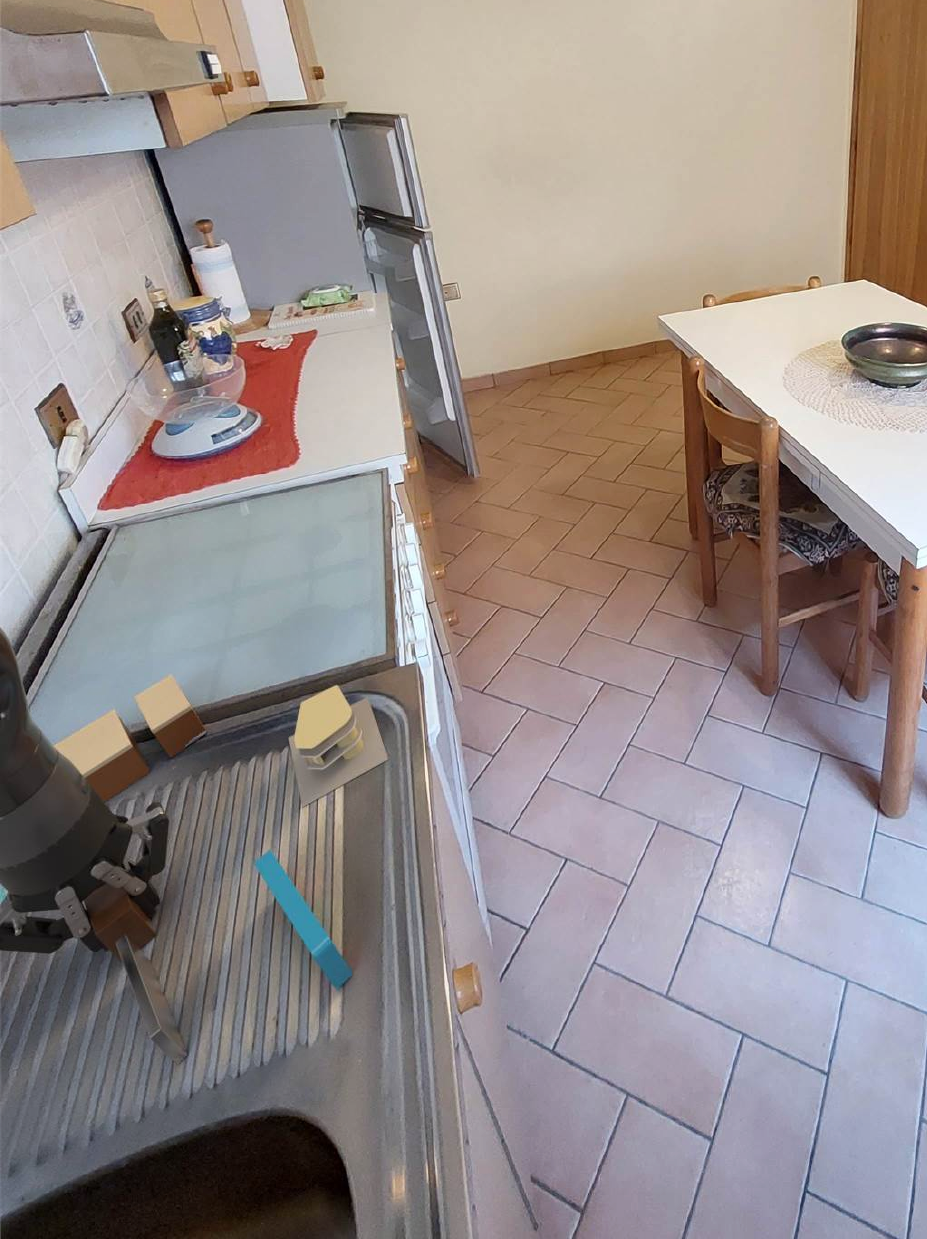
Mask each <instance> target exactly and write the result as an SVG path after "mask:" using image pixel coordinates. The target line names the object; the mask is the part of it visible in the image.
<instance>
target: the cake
mask: <svg viewBox="0 0 927 1239" xmlns="http://www.w3.org/2000/svg"><path fill="white" fill-rule="evenodd" d="M53 746H54V747H55V748H56V749H57V750H58V751H59V752H60V753H61V754H62V755H64V756H65V757H66V758H68V759H69V760H70V761H71V762H72V763H73V764H74V765H75V767H76V768H77V769H78V770H79V772H80V773H81V774H82V775H83V777H84V778H85V779H86V780H87V782H88V783H89V784H90V785H91V787H92V788H93V789H94V790H95V791H96V793H97V794H98V795H99V796H100V798H101V799H102V800H103V802H104V803H105V804H106V803H107V802H108V801H109V800H111V799H112V798H114V797H116V795H118V794H120V793H121V792H123V791H124V790H126V789H127V788H128V787H131V785H133V784H134V783H136V782H138V781H140V780H141V779H142V778H144V777H146V776H147V775H148V774H149V773H151V771H152V770H151V769H150V767H149V765H148V763H147V760H146V759H145V757H144V755H143V754H141V753H142V751H141V749H140V747H139V745H138V743H137V741H136V738H135V737H134V735H133V734H132V732H131V731H130V730H129V728H128V726H127V725H126V723H125V722H124V721H123V719H121V717H120V715H119V714H118V713H117V711H116V710H115V709H112V710H110V711H108V712H106V713H105V714H103V715H101V716H100V717H98V718H97V719H95V720H94V721H92V722H90V723H88V724H87V725H85V726H83V727H81V729H78V730H77V731H75V732H73V733H72V734H70V735H68V736H67V737H65V738H64V739H62V740H60V741H59V742H57V743H55V744H54V745H53ZM138 747H139V748H138ZM139 749H140V750H139ZM140 751H141V752H140ZM142 755H143V756H142ZM143 757H144V758H143Z"/></svg>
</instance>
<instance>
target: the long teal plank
mask: <svg viewBox="0 0 927 1239" xmlns="http://www.w3.org/2000/svg"><path fill="white" fill-rule="evenodd" d="M253 865H254V866H255V868H256V869H257V871H258V873H259V874H260V876H261V878H262V879H263V880H264V882H265V884H266V885H267V887H268V888H269V890H270V891H271V893H272V895H273V896H274V898H275V900H277V902H278V904H279V906H280V908H282V910H283V912H284V914H285V915H286V916H287V918H288V919H289V922H290V923H291V924H292V926H293V927H294V929H295V931H296V933H297V934H298V936H299V937H300V938H301V940H302V942H303V943H304V945H305V946H306V948H307V949H308V951H309V953H310V954H311V956H312V958H314V960H315V962H316V963H317V964H318V966H319V968H320V969H321V970H322V972H323V973H324V974H325V976H326V977H327V979H328V980H329V982H330V983H331V985H332V986H333V987H334V989H335V990H336V991H338V990H339V989H340V988H341V987H342V986H343V985H344V983H345V982H347V980H348V979H349V978H350V977H352V975H353V971H352V970H351V968H350V967H349V966H348V964H347V962H346V961H345V959H344V957H343V956H342V954H341V953H340V952H339V950H338V949H337V947H336V946H335V944H334V943H333V941H332V939H331V938H330V936H329V935H328V933H327V932H326V930H325V929H324V928H323V925H322V924H321V923H320V922H319V920H318V919H317V917H316V915H315V914H314V913H313V911H312V910H311V908H310V907H309V905H308V904H307V903H306V901H305V899H304V898H303V896H302V895H301V894H300V892H299V890H298V888H297V887H296V886H295V884H294V883H293V881H292V880H291V878H290V877H289V876H288V874H287V872H286V871H285V869H284V868H283V867H282V865H281V864H280V862H279V861H278V859H277V858H276V856H275V854H274V853H273V851H272V850H271V849H268V850H267V851H266V852H265V853H264V854H262V855H261V856H260V857H259V858H257V859H256V860H255V861H254V862H253Z"/></svg>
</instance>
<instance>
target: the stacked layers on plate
mask: <svg viewBox="0 0 927 1239" xmlns="http://www.w3.org/2000/svg"><path fill="white" fill-rule="evenodd" d="M288 742H289V747H290V753H291V758H292V763H293V768H294V773H295V778H296V783H297V788H298V794H299V799H300V804H301V808H305V806H307V805H309V804H311V803H313V802H314V801H316V800H318V799H320V798H322V797H323V796H325V795H327V794H329V793H331V792H333V791H334V790H336V789H338V788H340V787H341V786H344V785H345V784H347V783H348V782H350V781H352V780H354V779H356V778H357V777H359V776H361V775H363V774H365V773H366V772H368V771H370V770H372V769H373V768H375V767H377V766H379V765H381V764H383V763H384V762H386V761H388V760H389V756H388V754H387V750H386V747H385V744H384V741H383V739H382V735H381V732H380V728H379V726H378V723H377V720H376V717H375V714H374V711H373V708H372V705H371V702H370V698H369V697H368V696H366V697H364V698H363V699H361V700H359V701H356V702H355V703H353V704H351V705H350V704H349V702H348V701H347V699H346V697H345V695H344V694H343V692H342V691H341V689H340V687H339V685H338V684H336V685H333V686H332V687H331V686H330V687H329V688H327V689H325V690H324V691H322V692H320V693H317V694H315V695H314V696H311V697H309V698H308V699H305V700H303V701H301V702H300V704H299V711H298V716H297V721H296V727H295V731H294V734H292V735H290V736H289V737H288Z"/></svg>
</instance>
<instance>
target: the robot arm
mask: <svg viewBox="0 0 927 1239" xmlns="http://www.w3.org/2000/svg"><path fill="white" fill-rule="evenodd" d="M169 828H170V820H169V818H168V815H167V813H166V812H165V809H164V807H163V805H162V803H161V802H160V801H155V802H151V803H150V804H149V805H148V806H147V807H146V808H145V813H143V814H140V815H138V816H135V817H132V818H130V819H129V818H128V817H126V816H124V815H117V814H115V813H114V812H113V811H112V810H111V809H110V808H109V806H108V805H107V803H106V802H105V803H104V802H103V800H102V799H101V798H100V796H99V795H98V794H97V793H96V791H95V790H94V789H93V788H92V787H91V785H90V784H89V783H88V782H87V780H86V779H85V778H84V777H83V775H82V774H81V773H80V772H79V770H78V769H77V768H76V767H75V765H74V764H73V763H72V762H71V761H70V760H69V759H68V758H66V757H65V756H64V755H62V754H61V753H60V752H59V751H58V750H57V749H56V748H55V747H54V745H53V743H52V742H51V741H50V740H49V739H48V737H47V736H46V735H45V734H44V733H43V731H42V730H41V728H40V727H39V726H38V724H36V722H35V721H34V720H33V718H32V717H31V712H30V706H29V702H28V697H27V694H26V691H25V687H24V683H23V678H22V674H21V670H20V666H19V662H18V658H17V655H16V653H15V650H14V647H13V645H12V643H11V641H10V639H9V638H8V636H7V634H6V632H5V631H4V630H3V629H2V627H0V885H1V886H2V887H3V889H5V890H6V891H7V892H8V893H9V894H8V895H9V896H8V897H9V901H10V902H9V903H8V904H7V905H6V906H5V908H4V909H3V910H2V911H1V912H0V951H2V952H16V953H19V952H20V953H33V954H48V955H49V954H53V953H55V952H57V951H58V950H60V949H61V948H62V946H63V945H64V943H65V942H67V941H68V940H70V939H73V938H74V939H80V941H81V942H82V943H83V944H84V945H85V946H86V947H87V948H88V949H89V950H90V951H91V952H93V953H98V952H100V951H101V950H102V949H103V950H104V951H105V953H106V952H109V951H110V950H109V949H108V948H107V947H106V946H105V945H104V944H103V943H102V942H101V940H100V939H99V938H98V937H97V936H96V935H95V932H94V930H93V927H92V924H91V921H90V918H89V915H88V912H87V909H86V906H85V904H84V900H85V899H86V898H87V897H88V896H89V895H90V894H91V893H92V892H93V891H95V890H96V889H98V888H100V887H102V886H104V885H106V884H107V883H108V884H109V885H111V886H112V887H114V888H116V889H117V890H120V889H122V890H124V891H125V892H127V893H129V894H130V895H131V897H132V899H133V900H134V902H135V903H136V904H137V905H138V906H139V907H140V909H141V910H142V911H143V912H144V913H145V914H146V916H147V917H148V918H150V919H151V918H152V917H153V916H155V915H156V914H158V911H157V908H156V907H157V906H158V905H160V904H161V898H160V895H159V893H158V890H157V888H156V887H155V886H154V885H153V883H152V882H151V881H150V880H151V878H153V876H156V875H159V874H161V873H162V872H163V871H164V870H165V867H166V863H167V862H166V861H167V860H166V859H167V851H168V850H167V848H168V838H169ZM133 835H138V838H139V839H140V840H142V851H141V858H140V860H139V861H137V863H135V862H134V861H132V860H131V859H129V858H128V857H127V856H126V855H127V851H128V847H129V845H130V842H131V839H132V836H133ZM47 911H50V912H51V911H60V912H61V915H62V917H61V918H59V919H56V918H50V917H40V916H30V915H26V914H25V913H35V912H47Z"/></svg>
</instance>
